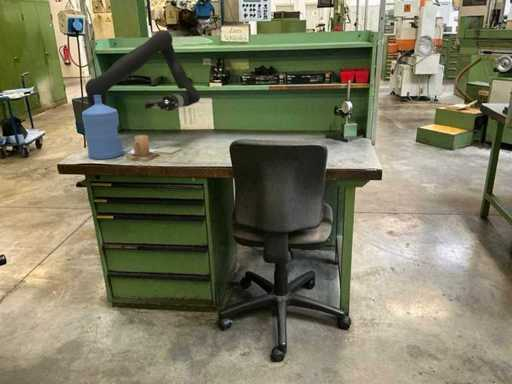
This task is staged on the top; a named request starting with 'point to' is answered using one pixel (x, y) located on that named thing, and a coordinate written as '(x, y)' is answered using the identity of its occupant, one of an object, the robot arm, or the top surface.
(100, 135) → the water jug
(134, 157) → the wooden frame
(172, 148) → the mat
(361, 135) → the top surface
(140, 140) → the pillar candle
